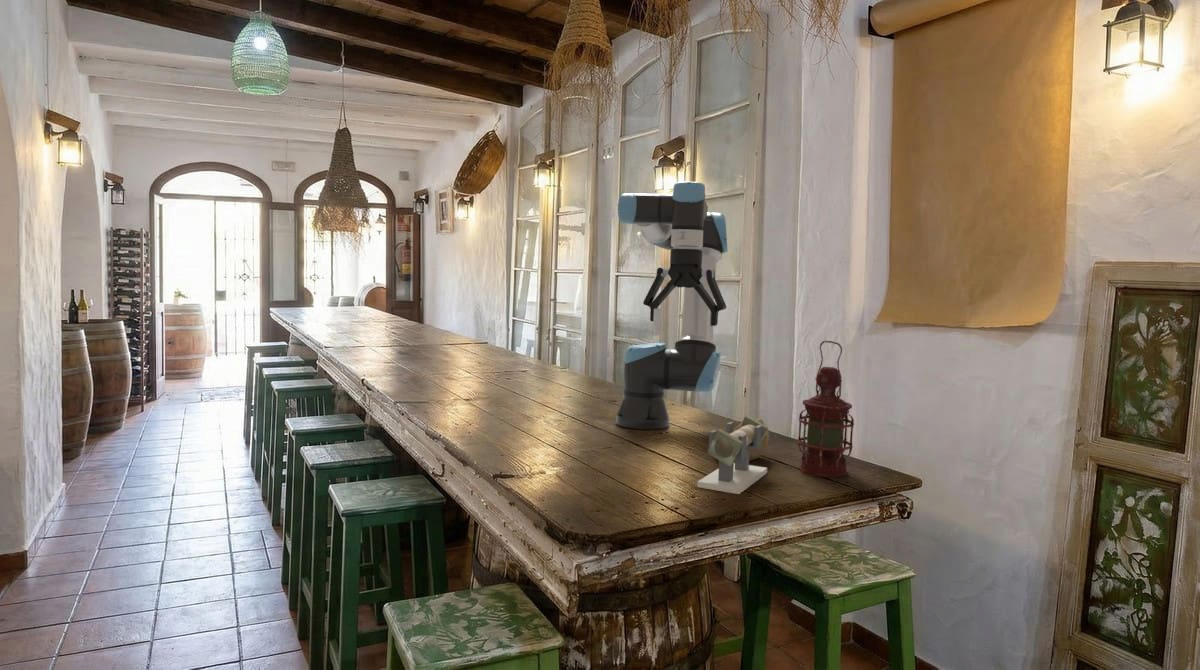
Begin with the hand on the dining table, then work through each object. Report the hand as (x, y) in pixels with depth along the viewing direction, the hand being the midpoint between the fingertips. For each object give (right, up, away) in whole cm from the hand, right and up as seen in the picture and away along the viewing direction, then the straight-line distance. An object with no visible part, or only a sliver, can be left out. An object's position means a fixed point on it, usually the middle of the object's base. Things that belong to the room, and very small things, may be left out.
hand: (682, 337), depth 191 cm
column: (+9, -24, -19) cm, 32 cm away
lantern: (+31, -31, -9) cm, 45 cm away
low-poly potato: (+14, -29, +1) cm, 33 cm away
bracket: (+9, -31, -19) cm, 37 cm away
